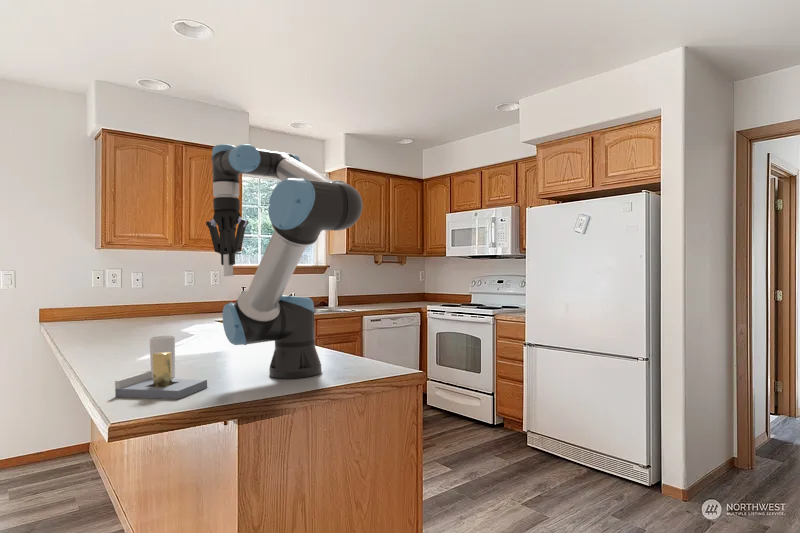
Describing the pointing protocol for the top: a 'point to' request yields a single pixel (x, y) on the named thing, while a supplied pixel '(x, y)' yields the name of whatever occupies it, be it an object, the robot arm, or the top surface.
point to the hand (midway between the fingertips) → (228, 276)
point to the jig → (144, 387)
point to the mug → (163, 349)
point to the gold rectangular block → (162, 369)
